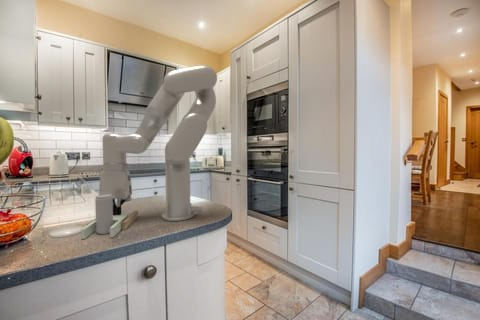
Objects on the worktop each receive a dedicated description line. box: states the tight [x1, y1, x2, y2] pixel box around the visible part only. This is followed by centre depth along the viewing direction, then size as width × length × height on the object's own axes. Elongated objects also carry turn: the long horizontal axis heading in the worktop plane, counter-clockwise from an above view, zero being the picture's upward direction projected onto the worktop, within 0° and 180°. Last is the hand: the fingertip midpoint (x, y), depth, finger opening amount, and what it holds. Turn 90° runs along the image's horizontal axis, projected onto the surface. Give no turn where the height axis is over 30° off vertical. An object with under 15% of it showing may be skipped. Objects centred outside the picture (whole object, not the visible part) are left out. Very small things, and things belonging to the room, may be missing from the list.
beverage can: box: [94, 194, 113, 235], centre depth 74 cm, size 5×5×12 cm
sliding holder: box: [80, 214, 129, 240], centre depth 76 cm, size 9×14×3 cm, turn 9°
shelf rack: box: [86, 210, 139, 231], centre depth 83 cm, size 12×15×2 cm
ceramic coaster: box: [49, 224, 85, 239], centre depth 74 cm, size 9×9×1 cm
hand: (116, 216), depth 84 cm, fingers closed
